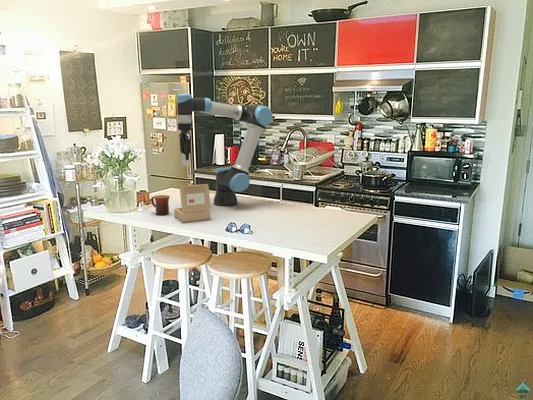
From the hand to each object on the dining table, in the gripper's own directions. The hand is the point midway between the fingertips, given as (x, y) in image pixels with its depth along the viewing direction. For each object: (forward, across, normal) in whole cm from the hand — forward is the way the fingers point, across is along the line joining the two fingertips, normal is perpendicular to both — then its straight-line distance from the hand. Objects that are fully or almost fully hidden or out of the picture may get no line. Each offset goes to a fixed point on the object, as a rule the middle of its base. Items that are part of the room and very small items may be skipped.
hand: (185, 165), depth 251 cm
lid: (+16, +14, 0) cm, 21 cm away
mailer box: (+29, +9, 0) cm, 30 cm away
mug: (+29, -9, -13) cm, 33 cm away
